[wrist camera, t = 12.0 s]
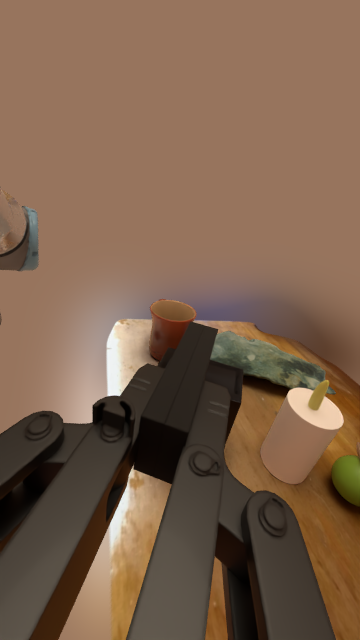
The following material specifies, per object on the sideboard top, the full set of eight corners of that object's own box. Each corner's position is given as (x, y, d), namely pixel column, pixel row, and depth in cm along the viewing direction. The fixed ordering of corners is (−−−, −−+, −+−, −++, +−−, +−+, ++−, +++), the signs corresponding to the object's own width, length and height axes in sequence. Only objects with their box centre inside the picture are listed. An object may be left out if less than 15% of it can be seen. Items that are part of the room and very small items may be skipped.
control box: (142, 443, 33) (152, 374, 28) (157, 410, 39) (168, 346, 33) (215, 470, 32) (241, 403, 26) (220, 432, 37) (243, 369, 31)
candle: (315, 464, 35) (371, 384, 28) (293, 495, 31) (353, 409, 24) (275, 432, 39) (315, 353, 32) (251, 454, 35) (291, 370, 28)
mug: (193, 365, 50) (204, 320, 45) (151, 370, 47) (157, 322, 42) (173, 333, 60) (180, 293, 55) (137, 335, 56) (141, 293, 51)
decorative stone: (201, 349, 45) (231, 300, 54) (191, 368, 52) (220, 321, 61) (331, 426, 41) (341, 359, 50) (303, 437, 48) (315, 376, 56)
